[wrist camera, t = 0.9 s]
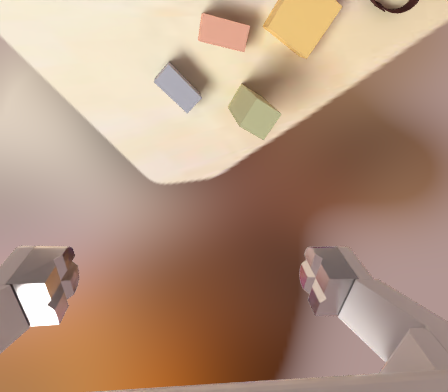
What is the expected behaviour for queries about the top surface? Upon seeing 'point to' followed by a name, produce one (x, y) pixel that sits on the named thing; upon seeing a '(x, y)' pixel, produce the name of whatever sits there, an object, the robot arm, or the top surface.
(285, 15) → the ochre slab
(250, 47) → the top surface
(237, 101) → the olive brick
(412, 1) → the watch
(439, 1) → the top surface
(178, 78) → the slate brick
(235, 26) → the terracotta brick
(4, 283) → the robot arm
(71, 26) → the top surface
